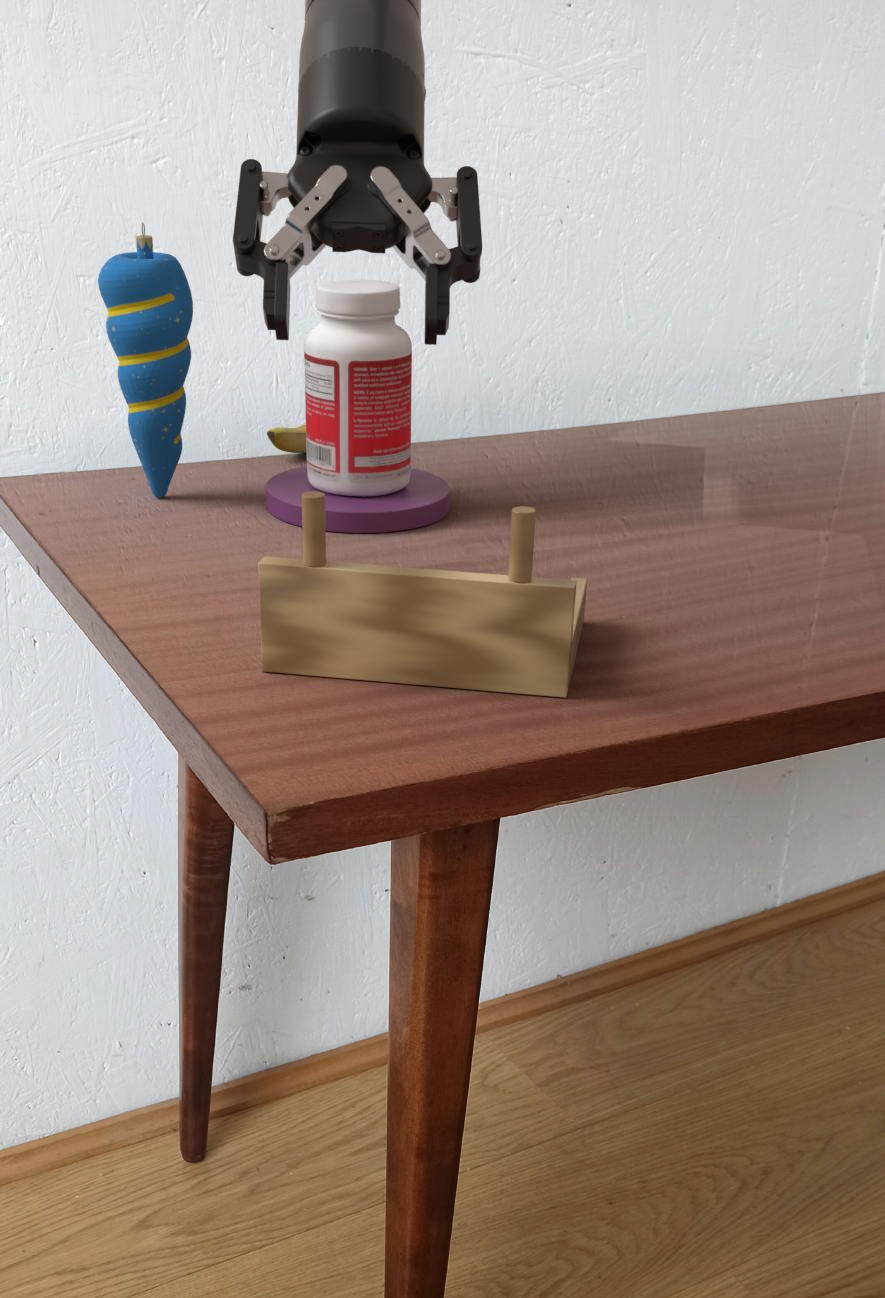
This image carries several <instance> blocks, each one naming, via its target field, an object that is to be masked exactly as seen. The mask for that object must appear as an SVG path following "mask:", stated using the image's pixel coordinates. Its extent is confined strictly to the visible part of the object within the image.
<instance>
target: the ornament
mask: <svg viewBox="0 0 885 1298" xmlns="http://www.w3.org/2000/svg"><path fill="white" fill-rule="evenodd" d="M135 247H136V251H131V252H123V253H118V254H115V255H113V256H112V257H110V258H108V260H107V261H105V262H104V264H103V266H101V268H100V271H99V273H98V277H97V279H98V280H97V285H98V289H99V293H100V296H101V298H102V301H103V304H104V305H105V307H106V310H107V312H108V313H107V317H106V320H105V329H106V335H107V339H108V340H109V343H110V345H111V348H112V350H113V352H114V354H115V356H116V358H117V360H118V366H117V380H118V384H119V387H120V391H121V393H122V395H123V397H124V400H125V403H126V405H127V408H128V414H127V425H128V430H129V434H130V438H131V440H132V443H133V446H134V449H135V452H136V454H137V457H138V459H139V461H140V465H141V467H142V469H143V472H144V474H145V478H146V479H147V483H148V485H149V488H150V490H151V493H152V494H153V496H154V497H156V498H158V499H159V498H163V497H165V496H166V495H167V494H168V490H169V487H170V484H171V481H172V479H173V476H174V473H175V472H176V469H177V467H178V464H179V462H180V459H181V456H182V452H183V438H182V428H183V424H184V421H185V416H186V409H187V395H186V391H185V387H184V385H185V382H186V379H187V376H188V373H189V370H190V365H191V361H192V349H191V343H190V341H189V338H188V336H189V333H190V330H191V326H192V322H193V316H194V301H193V300H194V299H193V296H192V291H191V290H192V289H191V287H190V284H189V281H188V278H187V275H186V273H185V271H184V269H183V267H182V264H181V263H180V261H179V260H178V258H177V257H176V256H174V255H173V254H169V253H164V252H158V251H157V252H155V251H154V250H153V249H154V242H153V236H152V235H149V234H148V235H147V234H146V226H145V223H144V222H141V235H136V236H135Z"/></svg>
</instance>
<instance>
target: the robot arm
mask: <svg viewBox="0 0 885 1298" xmlns="http://www.w3.org/2000/svg"><path fill="white" fill-rule="evenodd" d="M304 1H305V2H304V4H305V5H304V7H305V8H304V25H303V32H302V38H301V41H300V42H301V43H300V49H299V58H298V59H299V60H298V83H297V118H296V119H297V121H296V123H297V124H296V150H295V151H296V152H295V161H294V163H293V164H292V167H291V168H290V169H289V171H288V173H287V172H286V173H285V172H275V171H263V168H262V164H261V163H260V161H259V160H257V159H254V158H249V159H246V160H243V162H242V163H241V165H240V169H239V170H240V172H239V181H238V188H237V199H236V206H235V207H236V208H235V216H234V224H233V225H234V226H233V234H232V245H233V250H234V258H235V265H236V271H237V272H238V273H239V274H240V275H241V276H243V277H251V276H253V275H255V276H258V277H260V278H261V279H263V290H262V293H263V294H262V311H263V319H264V325H265V326H266V329H267V331H274V332H275V339H276V341H289V340H290V316H291V315H290V314H291V278H292V277H293V276H294V275H296V273H297V272H298V271H299V270H300V269H301V268H302V267H303V266H309V265H310V264H311V263H312V262H313V261H314V260H315V258H316V257H318V255H319V254H320V253H321V252H322V251H323V250H324V249H325V248H326V247H329V248H331V249H332V253H349V252H354V251H363V252H367V253H371V254H386V250H389V249H391V248H392V249H393V250H394V251H395V253H396V254H397V255H398V256H399V257H400V258H401V260H402V261H403V262H404V263H405V264H406V266H407V267H408V268H409V269H411V270H412V269H414V270H416V271H417V272H416V273H418V274H419V275H420V277H421V278H422V279H423V280H424V281H425V283H424V284H425V285H424V345H428V346H430V345H431V346H437V341H438V336H446V335H447V332H448V330H449V328H450V315H451V314H450V309H451V308H450V307H451V301H450V300H451V298H450V297H451V287H452V286H453V285H454V284H455V283H458V282H460V281H463V282H464V283H466V284H472V283H476V282H477V281H478V280H479V279H480V276H481V257H482V255H483V236H482V235H483V233H482V222H481V208H480V206H481V205H480V193H479V192H480V191H479V178H478V177H479V175H478V172H477V170H476V169H475V168H474V167H473V166H469V165H464V166H461V167H460V168H458V170H457V172H456V177H451V176H449V177H431V175H430V172H429V171H428V170H427V168H426V165H425V113H426V111H425V104H426V103H425V101H426V97H427V89H426V85H425V84H426V59H425V49H424V43H423V37H422V36H423V35H422V0H304ZM286 198H287V199H288V201H289V204H290V205H291V206H292V208H293V209H292V210H291V211H289V213H288V215H287V217H286V219H285V222H284V224H283V226H282V227H281V228H280V229H279V230H278V231H277V232H276V233H275V235H274V236H273V237H272V238H271V239H270V240H269V241H268V242H264V241H261V238H262V230H263V229H262V228H263V221H264V219H263V218H264V217H269V216H270V215H272V212H273V211H274V210H275V209H276V207H277V203H278V202H279V201H280V200H282V199H286ZM432 203H435V204H438V205H439V206H440V207H441V209H442V212H443V215H444V216H446V217H447V218H448V221H450V222H452V223H453V222H455V226H456V227H455V229H456V240H457V242H456V243H457V246H454V247H451V248H449V247H447V246H446V244H445V243H444V241H442V239H441V238H440V237H439V236H438V235H437V234H436V232H435V231H434V230H433V229H432V226H431V222H430V220H429V219H428V217H427V216H426V214H425V213H426V212H427V211H428V210H429V208H430V206H431V205H432Z"/></svg>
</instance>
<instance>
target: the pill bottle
mask: <svg viewBox="0 0 885 1298" xmlns="http://www.w3.org/2000/svg"><path fill="white" fill-rule="evenodd" d="M400 290H401V288H400V285H399V284H397V283H395V282H391V281H385V280H374V279H340V280H339V279H338V280H330V281H325V282H321V283H317V285H316V297H315V298H316V301H315V308H316V312H317V314H319V315H320V322H319V323H318V324H316V325H314V326H312V327H311V328H310V329H309V331H308V332H307V333H306V335H305V338H304V342H303V358H304V359H303V361H304V390H305V391H304V396H305V397H304V400H305V402H304V403H305V424H306V449H307V452H306V466H307V474H308V480H309V482H310V484H311V485H312V486H313V487H314V488H316V489H318V490H321V491H324V492H327V493H331V494H337V495H345V496H362V497H367V496H380V495H386V494H390V493H393V492H396V491H399V490H401V489H403V488H404V487H405V486H406V485H407V484H408V482H409V480H410V470H411V468H412V467H411V466H412V462H411V461H412V385H413V384H412V381H413V379H412V377H413V376H412V375H413V369H412V367H413V364H412V363H413V346H412V345H413V344H412V341H411V337H410V336H409V334H408V332H407V331H406V330H405V329H404V328H402V326H399V325H397V323H396V319H395V318H396V316H397V315H399V313H400V309H401V291H400Z"/></svg>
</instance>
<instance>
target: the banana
mask: <svg viewBox="0 0 885 1298" xmlns="http://www.w3.org/2000/svg"><path fill="white" fill-rule="evenodd" d="M266 436H267V437H268V439H269V441H270V442H271V443H272V445H273V446H274V448H276V449H277V450H279V451H282V452H285V453H290V454H291V453H292V454H301V453H302V454H303V453H307V449H306V423H305V424H303V425H300V426H298V427H297V426H296V427H283V426H280V427H274V428H271V429H269V430H267V431H266Z"/></svg>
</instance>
